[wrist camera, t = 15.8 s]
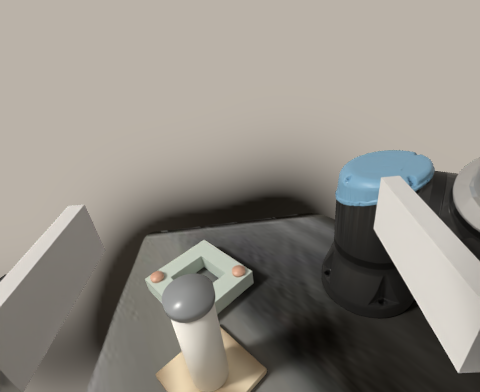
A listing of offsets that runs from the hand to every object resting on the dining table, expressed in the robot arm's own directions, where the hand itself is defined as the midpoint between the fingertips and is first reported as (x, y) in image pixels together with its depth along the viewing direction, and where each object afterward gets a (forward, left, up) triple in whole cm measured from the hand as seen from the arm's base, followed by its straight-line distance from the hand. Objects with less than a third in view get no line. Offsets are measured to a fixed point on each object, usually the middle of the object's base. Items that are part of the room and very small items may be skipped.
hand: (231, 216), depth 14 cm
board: (-3, -14, -35) cm, 38 cm away
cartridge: (-3, -14, -34) cm, 37 cm away
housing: (-12, -28, -35) cm, 46 cm away
